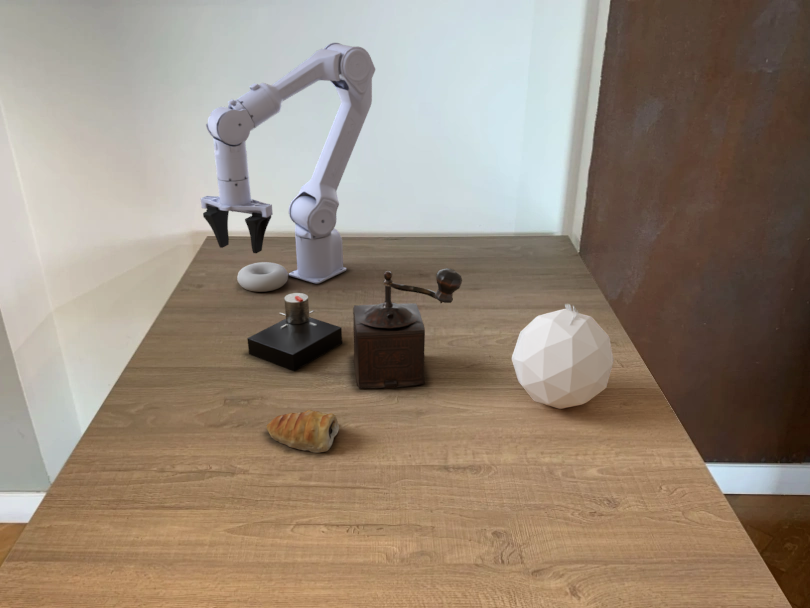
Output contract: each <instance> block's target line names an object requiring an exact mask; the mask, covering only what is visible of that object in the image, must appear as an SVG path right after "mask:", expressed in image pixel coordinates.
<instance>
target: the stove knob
mask: <svg viewBox="0 0 810 608" xmlns="http://www.w3.org/2000/svg"><path fill="white" fill-rule="evenodd" d="M283 299H284V300H283V301H284V314H285V315H286V316H285V319H286V321H287V322H288V323H290V324H303V323H306V322H308V321H309V319H310V318H309V317H310V314H309V312H310V305H309V304H310V303H309V302H310V301H309V296H308V294H306V293H304V292H303V293H302V292H293V293H289V294H286V295H285V296H284V297H283Z"/></svg>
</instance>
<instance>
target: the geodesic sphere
mask: <svg viewBox="0 0 810 608" xmlns="http://www.w3.org/2000/svg"><path fill="white" fill-rule="evenodd" d="M511 361H512V362H511V363H512V365H513V368H514V371H515V372H514V373H515V375H516V378H517V382H518V383H519V384H520V385H521V387H522V388H523V389H524V390H525V392H526V393H527V394H528V396H529V397H530V398H531V399H532V401H533V402H536V403H539V404H542V405H545V406H548V407H552V408H556V409H558V410H561V409H567V408H572V407H576V406H581V405H584V404H586V403H588V402H589V401H591V400H592V399H593V398H595V397H596V396H598V395H599V394H600V393H601V392H603V391H604V390H605V389H607V386H608V384H609V380H610V376H611V372H612V369H613V365H614V361H615V359H614V354H613V349H612V344H611V337H610V335H609V334H608V333H607V332H606V331H605V330H604V329H603V328H602V326H600V324H599V323H598V322H597V320H595V319H594V317H593V316H591V315H587V314H584V313H580V310H577V309H575V305H572V306H571V304H570V303H564V308H562V309H558V310H554V311H550V312H547V313H543V314H539V315H536V316H535V317H534V318H533V319H532V320H531V321H530V322H529V323H528V324H527V325H526V326H525V327H524V328H523V329H521V330H520V332H519V334H518V337H517V340H516V344H515V346H514V350H513V352H512V355H511Z"/></svg>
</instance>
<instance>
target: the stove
mask: <svg viewBox="0 0 810 608" xmlns="http://www.w3.org/2000/svg"><path fill="white" fill-rule="evenodd" d="M314 312H315V310H311V311H310V310H309V315H311V314H313V313H314ZM278 314H279V315H281V316H284V317H286V315H285V313H283V312H279V313H278ZM309 318H310V319H309V321H308V322H306V323H303V324H290V323H288V322H287V321H286V318H284V319H282V320H280V321H278V322H276V323H274V324H272V325H270V326H268V327H266V328H264V329H262V330H261V331H258V332H256V333H255V334H252V335H250V336H248V337H247V338H246V340H247V348H248V355H250V356H252V357H255V358H258V359H261V360H264V361H266V362H268V363H271V364H274V365H276V366H279V367H282V368H285V369H288V370H290V371H293V372H296V371H297V370H299V369H301V368H303V367H305V366H306V365H307V364H310V363H311V362H313V361H314V360H317V359H318V358H319V357H321V356H324V355H325V354H326V353H328V352H330V351H332V350H333V349H335V348H337V347H339V346H340V345H341V344H343V329H342V326H339V325H336V324H332V323H329V322H326V321H322V320H320V319H317V318H314V317H310V316H309Z"/></svg>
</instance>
